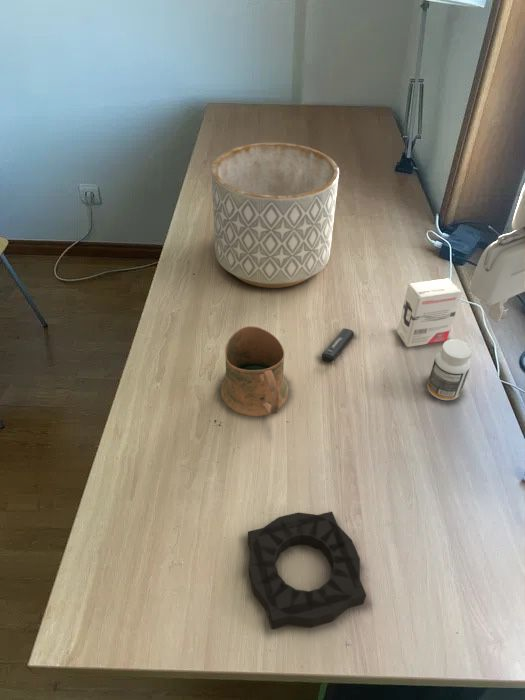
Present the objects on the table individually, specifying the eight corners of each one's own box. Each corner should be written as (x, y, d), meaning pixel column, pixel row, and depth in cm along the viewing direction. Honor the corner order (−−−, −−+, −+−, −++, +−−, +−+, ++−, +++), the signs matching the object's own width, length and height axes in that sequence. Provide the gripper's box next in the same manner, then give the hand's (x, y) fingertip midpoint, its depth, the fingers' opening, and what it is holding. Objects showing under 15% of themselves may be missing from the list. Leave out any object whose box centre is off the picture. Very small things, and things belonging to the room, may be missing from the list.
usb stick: (342, 331, 110) (343, 325, 109) (354, 336, 109) (355, 330, 108) (319, 359, 104) (320, 353, 103) (332, 364, 103) (333, 358, 102)
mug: (238, 450, 88) (237, 398, 80) (215, 373, 100) (211, 322, 92) (308, 436, 90) (313, 383, 82) (277, 362, 103) (279, 311, 95)
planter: (285, 310, 114) (290, 211, 99) (192, 267, 125) (184, 171, 110) (349, 256, 129) (362, 163, 114) (261, 221, 141) (262, 133, 126)
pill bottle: (440, 373, 101) (453, 332, 95) (466, 392, 98) (482, 349, 91) (419, 388, 99) (432, 346, 92) (446, 407, 95) (461, 365, 89)
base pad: (374, 609, 70) (377, 600, 68) (265, 640, 67) (266, 631, 66) (334, 512, 80) (336, 503, 78) (238, 535, 77) (238, 526, 76)
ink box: (435, 325, 111) (449, 276, 104) (447, 341, 108) (463, 291, 100) (396, 331, 110) (407, 282, 102) (406, 348, 106) (419, 298, 98)
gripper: (512, 252, 64) (483, 344, 73) (627, 209, 72) (587, 297, 81) (472, 228, 69) (448, 318, 78) (584, 190, 76) (551, 276, 85)
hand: (520, 307), depth 79 cm, fingers open, 8 cm apart
